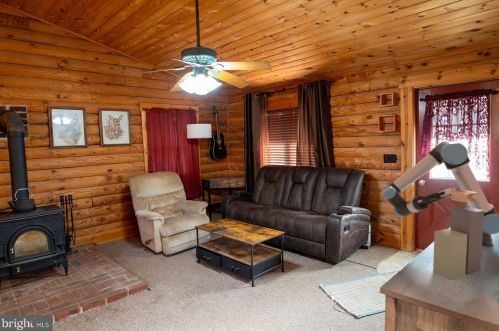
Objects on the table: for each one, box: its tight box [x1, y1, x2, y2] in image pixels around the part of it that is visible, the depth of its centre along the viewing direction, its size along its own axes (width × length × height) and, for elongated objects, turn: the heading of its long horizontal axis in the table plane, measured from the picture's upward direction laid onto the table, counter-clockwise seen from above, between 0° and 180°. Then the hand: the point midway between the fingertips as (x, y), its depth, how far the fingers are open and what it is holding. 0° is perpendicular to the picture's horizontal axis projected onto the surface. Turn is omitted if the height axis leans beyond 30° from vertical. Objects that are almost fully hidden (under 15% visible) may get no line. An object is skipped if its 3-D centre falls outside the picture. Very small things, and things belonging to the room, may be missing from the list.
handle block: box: [438, 189, 477, 204], centre depth 157 cm, size 8×16×4 cm, turn 21°
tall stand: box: [449, 205, 484, 276], centre depth 154 cm, size 9×10×30 cm
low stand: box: [432, 228, 467, 280], centre depth 151 cm, size 9×10×20 cm
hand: (452, 190), depth 158 cm, fingers closed on handle block, 2 cm apart
